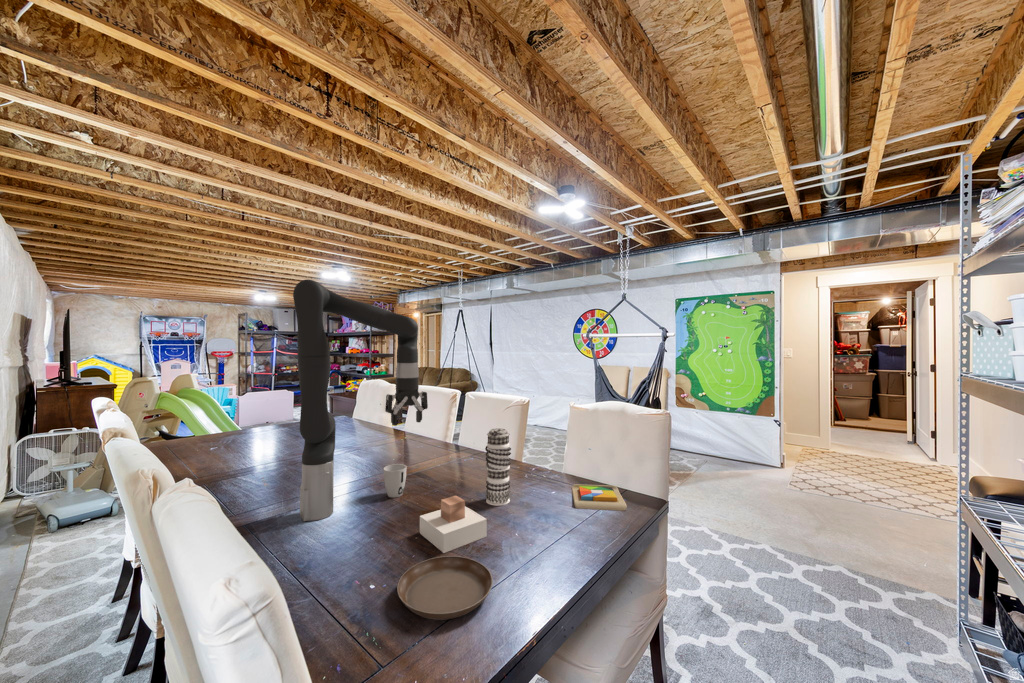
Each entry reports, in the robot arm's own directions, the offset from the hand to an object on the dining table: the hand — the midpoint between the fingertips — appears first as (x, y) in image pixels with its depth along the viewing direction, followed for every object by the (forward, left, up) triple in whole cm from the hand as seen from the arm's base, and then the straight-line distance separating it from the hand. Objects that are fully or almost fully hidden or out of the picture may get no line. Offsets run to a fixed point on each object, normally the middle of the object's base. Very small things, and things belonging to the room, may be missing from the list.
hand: (407, 423), depth 132 cm
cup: (+1, +12, -28) cm, 31 cm away
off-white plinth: (+2, -27, -28) cm, 39 cm away
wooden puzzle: (+56, -37, -29) cm, 73 cm away
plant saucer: (-13, -49, -29) cm, 58 cm away
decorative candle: (+27, -16, -28) cm, 42 cm away
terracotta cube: (+2, -27, -23) cm, 36 cm away
